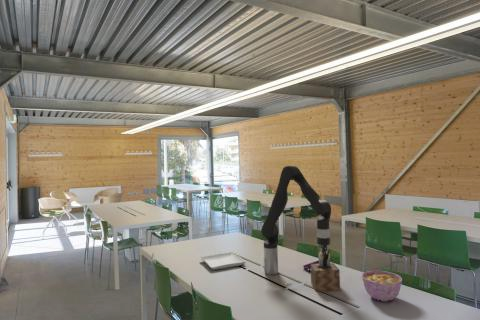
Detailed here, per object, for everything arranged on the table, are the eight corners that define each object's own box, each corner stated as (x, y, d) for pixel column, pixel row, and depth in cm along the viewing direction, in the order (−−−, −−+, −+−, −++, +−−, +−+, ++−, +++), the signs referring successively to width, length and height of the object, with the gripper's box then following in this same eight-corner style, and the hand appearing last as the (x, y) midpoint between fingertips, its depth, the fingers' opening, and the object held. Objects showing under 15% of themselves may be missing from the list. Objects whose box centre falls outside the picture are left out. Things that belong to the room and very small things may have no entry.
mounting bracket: (304, 278, 227) (324, 273, 214) (300, 266, 230) (319, 260, 217) (313, 275, 233) (332, 269, 220) (309, 263, 236) (327, 257, 223)
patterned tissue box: (315, 291, 191) (315, 270, 191) (311, 283, 203) (310, 263, 203) (340, 290, 191) (339, 269, 191) (334, 282, 203) (333, 263, 203)
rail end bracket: (320, 271, 195) (319, 254, 195) (318, 269, 198) (318, 252, 198) (330, 270, 196) (329, 254, 195) (329, 269, 199) (328, 252, 198)
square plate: (211, 272, 230) (211, 267, 230) (199, 261, 255) (199, 256, 254) (247, 266, 241) (246, 260, 241) (232, 256, 266) (232, 251, 266)
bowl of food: (391, 289, 190) (390, 269, 189) (410, 305, 170) (409, 282, 169) (356, 291, 189) (356, 271, 189) (371, 307, 169) (371, 284, 169)
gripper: (314, 233, 204) (315, 261, 204) (320, 239, 190) (321, 269, 190) (326, 233, 204) (327, 261, 204) (333, 238, 190) (334, 268, 190)
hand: (324, 264), depth 197 cm, fingers closed on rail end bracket, 3 cm apart
